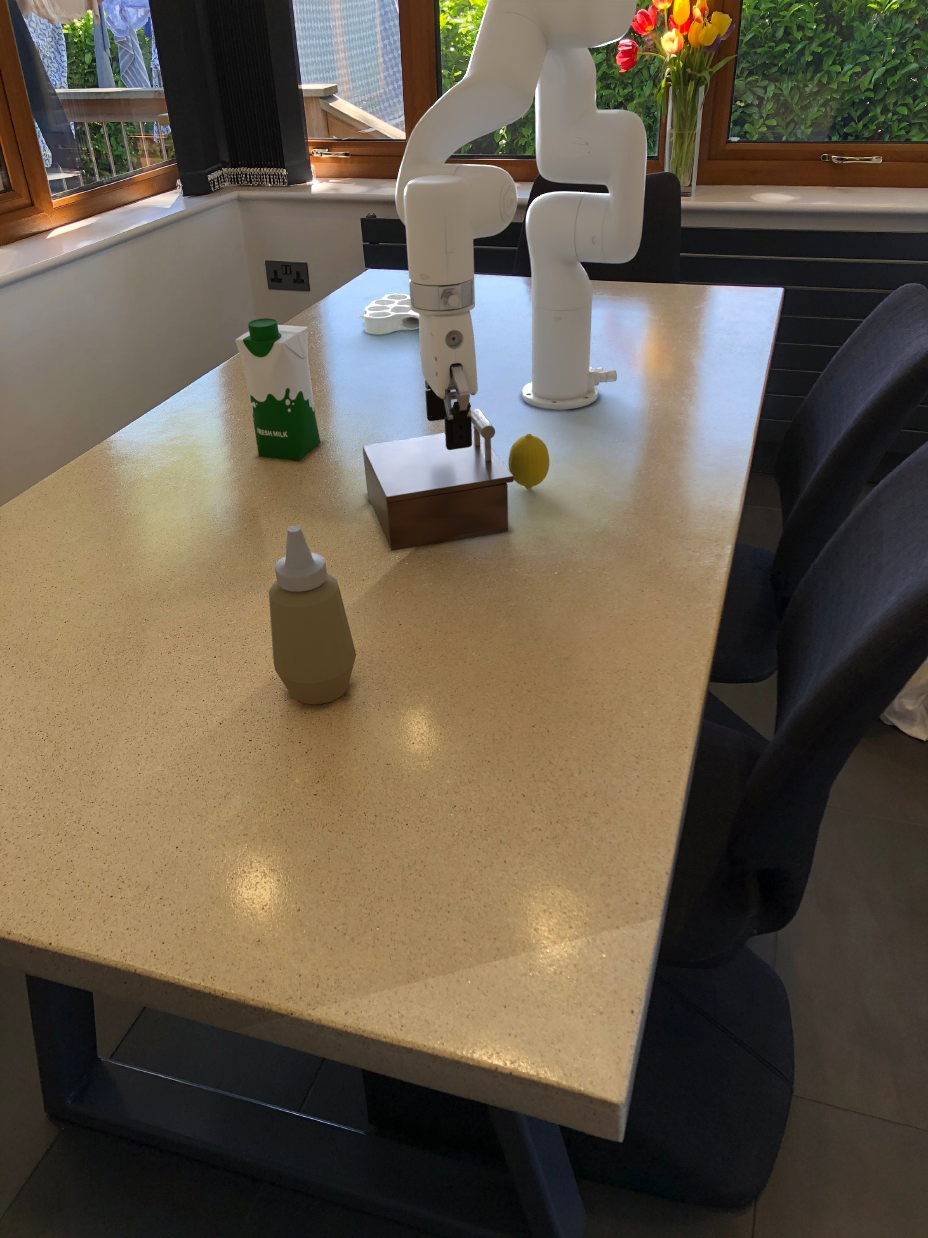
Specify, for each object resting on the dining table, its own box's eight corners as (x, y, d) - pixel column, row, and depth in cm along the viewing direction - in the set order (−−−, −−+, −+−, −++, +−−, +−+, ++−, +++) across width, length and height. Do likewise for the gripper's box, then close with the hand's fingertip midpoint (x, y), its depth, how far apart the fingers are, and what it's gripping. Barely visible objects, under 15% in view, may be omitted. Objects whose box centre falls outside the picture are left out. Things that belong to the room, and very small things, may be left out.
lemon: (546, 498, 124) (547, 443, 120) (505, 496, 125) (505, 441, 121) (551, 481, 129) (552, 426, 124) (512, 478, 130) (511, 425, 125)
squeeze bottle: (282, 666, 95) (253, 511, 85) (360, 660, 96) (340, 504, 86) (275, 716, 89) (243, 554, 79) (359, 709, 89) (338, 547, 79)
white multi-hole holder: (418, 335, 186) (349, 333, 189) (439, 310, 200) (375, 308, 203) (417, 319, 184) (347, 317, 187) (438, 294, 198) (373, 292, 201)
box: (473, 478, 130) (471, 435, 127) (508, 531, 117) (507, 484, 114) (367, 495, 127) (362, 450, 124) (391, 551, 114) (386, 503, 111)
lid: (477, 433, 127) (475, 393, 124) (513, 481, 114) (513, 439, 111) (362, 450, 124) (358, 410, 120) (386, 503, 111) (382, 459, 107)
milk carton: (250, 458, 139) (226, 325, 128) (279, 435, 146) (258, 306, 135) (302, 464, 136) (282, 329, 125) (329, 440, 143) (312, 310, 132)
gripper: (495, 309, 101) (497, 455, 110) (454, 273, 115) (459, 405, 124) (428, 317, 99) (436, 464, 109) (395, 279, 113) (405, 412, 123)
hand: (448, 432), depth 117 cm, fingers open, 9 cm apart
